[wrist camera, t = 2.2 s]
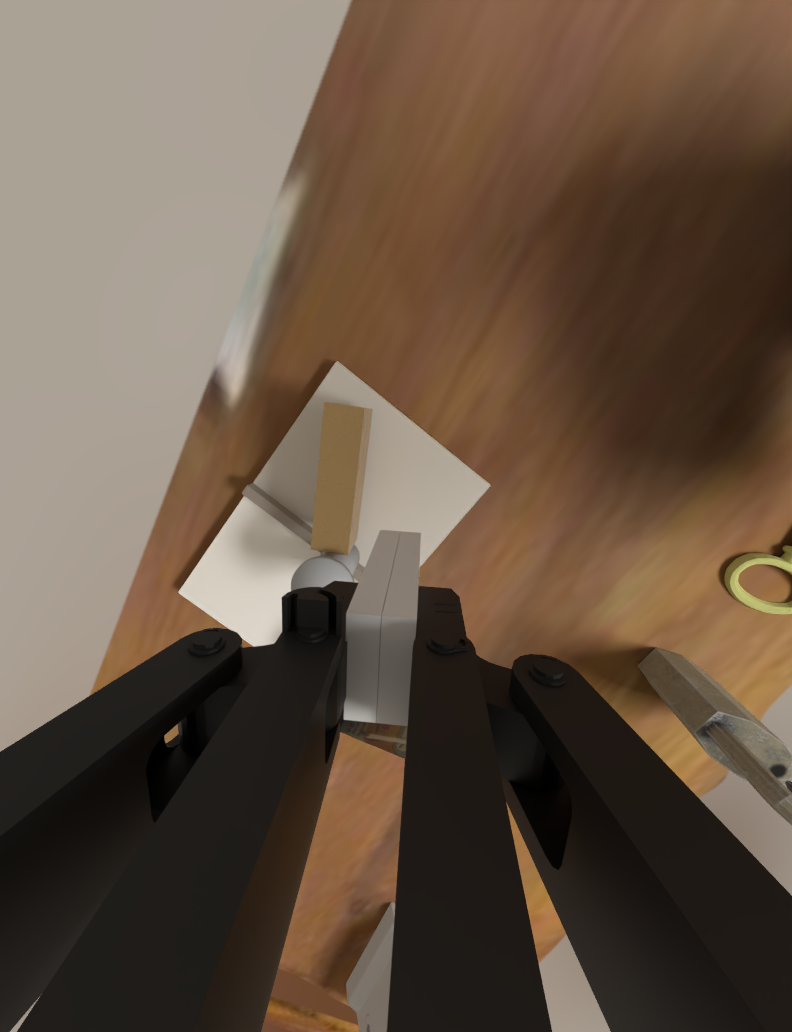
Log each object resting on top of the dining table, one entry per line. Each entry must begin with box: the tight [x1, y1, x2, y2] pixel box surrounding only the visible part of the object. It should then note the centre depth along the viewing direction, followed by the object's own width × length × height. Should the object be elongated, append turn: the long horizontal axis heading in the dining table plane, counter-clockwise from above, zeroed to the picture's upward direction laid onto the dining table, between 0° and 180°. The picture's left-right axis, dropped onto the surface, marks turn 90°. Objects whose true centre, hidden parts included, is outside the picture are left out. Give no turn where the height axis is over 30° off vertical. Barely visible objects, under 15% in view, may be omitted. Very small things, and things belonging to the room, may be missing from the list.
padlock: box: [637, 648, 792, 825], centre depth 30 cm, size 4×8×15 cm, turn 55°
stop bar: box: [311, 402, 373, 555], centre depth 30 cm, size 11×3×4 cm, turn 172°
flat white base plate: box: [178, 361, 491, 647], centre depth 33 cm, size 16×26×8 cm, turn 142°
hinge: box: [346, 902, 395, 1032], centre depth 45 cm, size 17×5×10 cm, turn 158°
